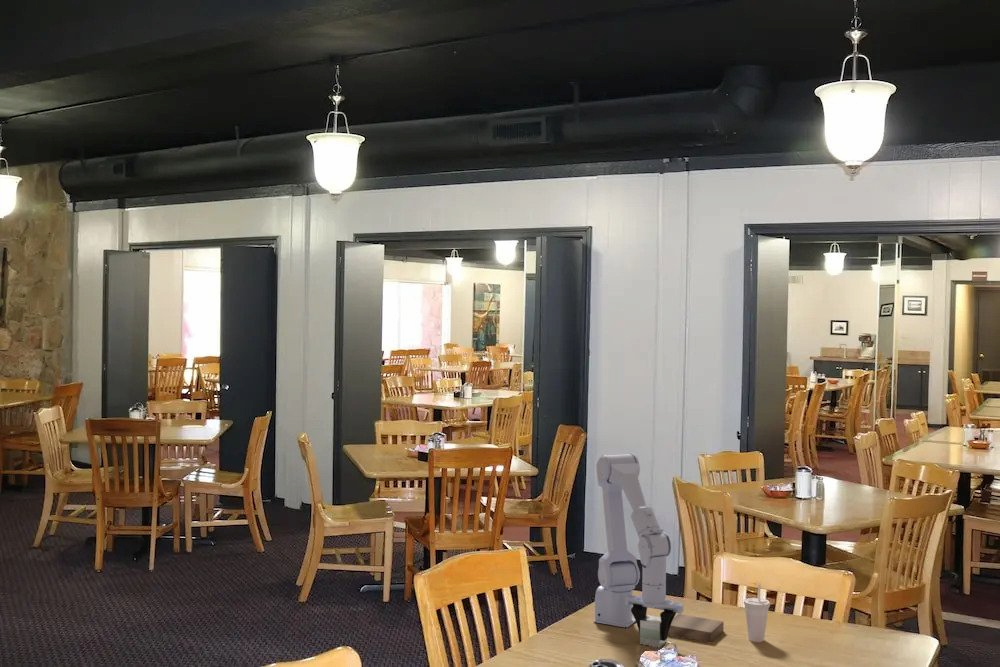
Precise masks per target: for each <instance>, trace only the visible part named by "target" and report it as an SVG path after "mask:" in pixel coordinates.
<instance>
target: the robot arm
mask: <svg viewBox="0 0 1000 667" xmlns="http://www.w3.org/2000/svg"><path fill="white" fill-rule="evenodd" d="M595 465H596V474H597V477H596V478H597V485H598V486H599V487H601V492H602V500H603V511H604V512H603V513H604V514H603V515H604V523H605V533H606V536H605V537H606V544H607V551H606V552H605V553H604V554H603V555H602V556H601V557H600V558H599V559H598V569H597V570H598V571H597V577H598V583H599V584H600V585H599V586H598V587H597V588H596V590H595V595H594V596H595V597H594V619H593V622H594V623H599V624H604V625H609V626H614V627H620V628H625V627H626V628H629V627H630V626H631V625H633V624H634V623H635V622H636V625H637V629H638V634H639V635H640V620H641V619H643V618H644V617H645V616H647V613H648V612H647V610H648V608H649V609H655V610H661V611H662V612H660V614H659V617H661V624H662V634H661V637H662V641H665V640H666V639H667V640H668V638H669V637H668V636H669V635H668V632H669V628H670V625H671V623H672V621H673V618H674V617H675V616H677V615H678V614H681V615H682V613H684V603H680V602H675V601H674V600H673V601H672V600H669V599H666V598H667V596H666V595H667V593H666V592H667V588H666V587H667V557H668V556H670V554H671V552H672V543H671V539H670V536H669V535H668V533H666V532H665V531H664V529H662V528H660V526H659V522H658V520H657V517H656V515H655V512H654V510H653V508H652V507H650V506H649V505H647V503H646V501H645V497H644V493H643V491H642V490H643V489H642V487H641V484H640V480H639V476H640V472H641V466H640V462H639V459H638V457H637V456H636V454H635V453H633V452H632V453H627V454H625V453H624V454H609V455H608V454H602V455H600V457H599V458H598V460H597V462H596V464H595ZM622 491H623V493H624V494H625V497H626V498H627V501H628V502H629V505H630V506H631V509H632V513H631V514H630V515H631V516H630V518H631V521H632V523H633V526H634V529H635V531H636V534H637V537H638V539H639V540H638V544H637V549H638V553H639V556H640V557H639V558H640V564H641V565H642V566H641V568H642V573H641V571H640V568H639V566H638V562H637V556H635V555H634V554H633V553H631V552H630V551H629V550H628V543H627V535H626V525H625V514H624V513H625V512H624V503H623V502H624V501H623V493H622ZM641 574H642V578H641ZM640 579H642V580H641V581H642V582H641V583H642V584H641V585H642V586H641V595H633V590H635V589H636V586H637V585H638V583H639V582H640ZM626 628H625V629H626Z"/></svg>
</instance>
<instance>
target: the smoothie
mask: <svg viewBox="0 0 1000 667" xmlns="http://www.w3.org/2000/svg"><path fill="white" fill-rule="evenodd" d="M743 605H744V610H745V617H746V627H747V636H748V640H749V641H750V642H753V643H763V642H765V636H766V628H767V620H768V613H769V608H770V607H771V604H770V601H769V600H768V599H766V598H762V597H761V583H758V584H757V597H746V598H744V599H743ZM762 641H763V642H762Z"/></svg>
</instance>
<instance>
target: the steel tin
mask: <svg viewBox="0 0 1000 667" xmlns="http://www.w3.org/2000/svg"><path fill="white" fill-rule="evenodd" d="M661 634H662V624H661V617H660V616H657V615H651V614H646V616H645V617H644V618H643V619H641V620H640V634H639V645H640V644H643V645H642V646H645V645H649V646H648V647H651V646H652V647H651V648H657V647H658V648H657V649H660V648H661V647H663V646H664V645H665V644H666V643H667V642H666V641H668V638H667V639H666V640H665V641H662V637H661ZM665 642H666V643H665ZM664 643H665V644H664ZM663 644H664V645H663ZM662 645H663V646H662Z"/></svg>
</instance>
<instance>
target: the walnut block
mask: <svg viewBox="0 0 1000 667" xmlns="http://www.w3.org/2000/svg"><path fill="white" fill-rule="evenodd" d="M724 624H725V623H724V621H723V620H717V619H710V618H704V617H699V616H692V615H686V614H682V613H681V614H678V613H677V614H676V615H675V616H674V618H673V621H672V623H671V625H670V628H669V632H668V636H671V635H672V636H671V637H676V636H678V638H682V637H684V638H683V639H687V638H690V639H689V640H693V639H695V640H694V641H698V640H701V641H700V642H704V641H705V643H709V642H711V643H712V642H714V641H715V640H716V639H717V638H718V637H719V636H720V635H722V633H724ZM714 639H715V640H714Z"/></svg>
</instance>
